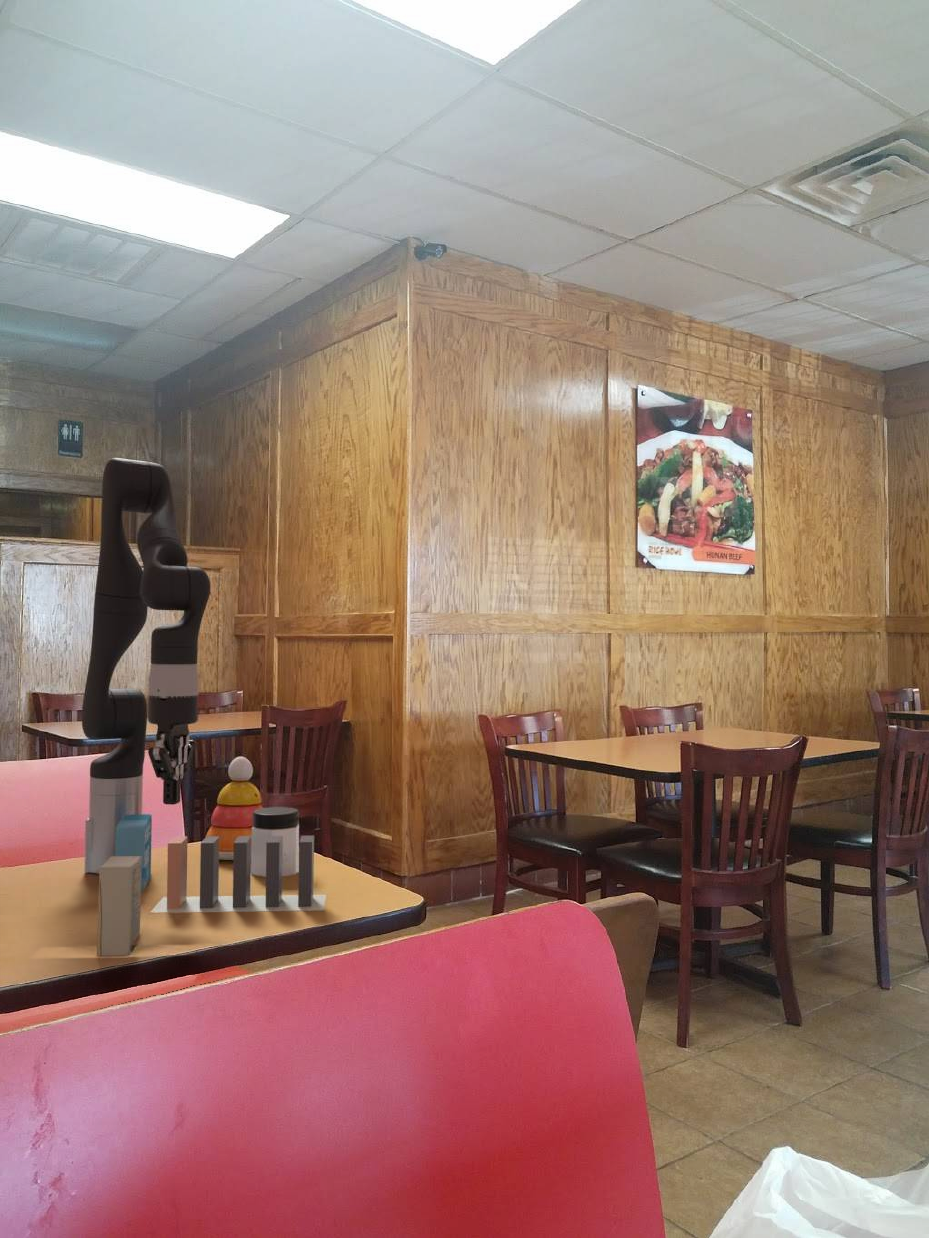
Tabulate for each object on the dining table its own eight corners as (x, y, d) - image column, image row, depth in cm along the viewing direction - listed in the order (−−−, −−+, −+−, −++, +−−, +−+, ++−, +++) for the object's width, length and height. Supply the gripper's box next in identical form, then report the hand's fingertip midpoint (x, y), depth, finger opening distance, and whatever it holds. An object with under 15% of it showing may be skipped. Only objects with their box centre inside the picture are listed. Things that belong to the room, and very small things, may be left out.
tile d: (265, 907, 149) (266, 842, 149) (269, 898, 154) (270, 835, 154) (278, 907, 149) (279, 842, 149) (281, 898, 154) (282, 835, 154)
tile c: (232, 907, 148) (233, 842, 149) (237, 899, 153) (238, 836, 154) (245, 907, 149) (246, 842, 149) (250, 898, 154) (251, 836, 154)
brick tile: (166, 908, 148) (167, 843, 148) (173, 899, 153) (174, 836, 153) (180, 908, 148) (181, 843, 148) (186, 899, 153) (187, 836, 153)
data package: (143, 898, 158) (144, 825, 158) (114, 900, 157) (115, 826, 157) (150, 880, 170) (152, 812, 170) (123, 881, 169) (125, 813, 169)
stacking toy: (259, 866, 181) (261, 762, 182) (188, 862, 183) (190, 760, 184) (285, 850, 195) (286, 753, 196) (218, 847, 197) (220, 752, 198)
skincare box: (109, 942, 135) (110, 855, 135) (141, 942, 135) (143, 855, 135) (95, 957, 129) (97, 866, 129) (129, 956, 129) (131, 865, 129)
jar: (259, 886, 166) (260, 816, 167) (242, 876, 173) (243, 809, 173) (307, 879, 171) (308, 812, 172) (289, 870, 178) (290, 805, 178)
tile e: (298, 906, 149) (299, 842, 150) (300, 898, 154) (301, 835, 155) (311, 906, 150) (312, 842, 150) (313, 898, 155) (314, 835, 155)
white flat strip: (149, 920, 145) (150, 912, 145) (163, 904, 154) (163, 896, 154) (323, 917, 148) (323, 909, 148) (326, 901, 157) (326, 894, 157)
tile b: (199, 908, 148) (200, 843, 148) (205, 899, 153) (206, 836, 153) (212, 908, 148) (213, 842, 148) (218, 899, 153) (219, 836, 153)
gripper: (168, 690, 158) (166, 796, 157) (131, 694, 145) (129, 810, 144) (212, 691, 157) (210, 797, 157) (179, 695, 144) (177, 812, 143)
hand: (171, 803), depth 150 cm, fingers closed
